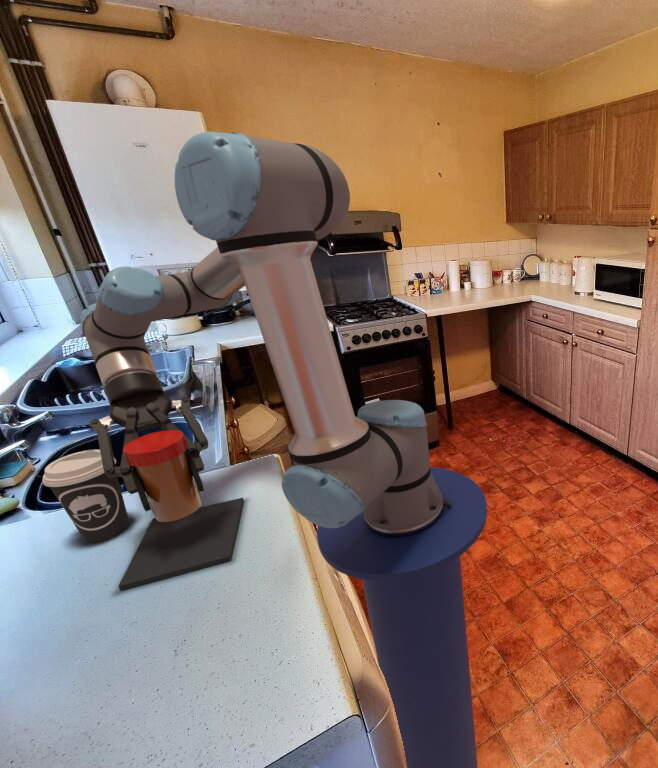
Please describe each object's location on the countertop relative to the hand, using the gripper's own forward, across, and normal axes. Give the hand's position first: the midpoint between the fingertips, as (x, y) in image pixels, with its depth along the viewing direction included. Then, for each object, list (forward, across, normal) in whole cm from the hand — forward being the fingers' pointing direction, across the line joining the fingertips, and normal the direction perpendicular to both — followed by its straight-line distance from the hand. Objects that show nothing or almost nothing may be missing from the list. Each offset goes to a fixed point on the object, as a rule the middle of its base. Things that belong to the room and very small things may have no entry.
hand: (175, 498), depth 72 cm
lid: (-9, 0, +4) cm, 10 cm away
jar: (0, 0, -6) cm, 6 cm away
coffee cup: (-5, +11, -21) cm, 24 cm away
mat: (+5, 0, -10) cm, 11 cm away
